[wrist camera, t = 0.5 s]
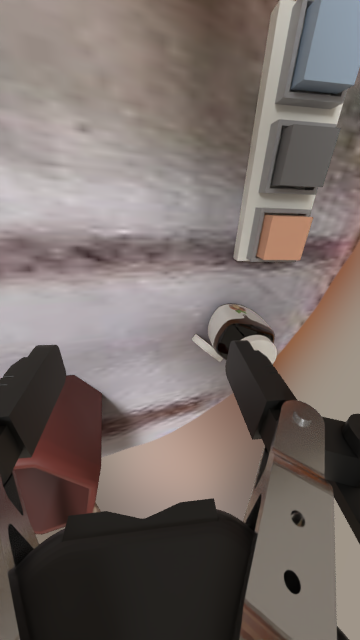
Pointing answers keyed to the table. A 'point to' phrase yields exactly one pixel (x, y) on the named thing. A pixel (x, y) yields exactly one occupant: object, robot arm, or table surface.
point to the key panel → (279, 129)
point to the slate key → (329, 47)
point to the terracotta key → (283, 237)
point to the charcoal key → (304, 155)
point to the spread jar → (237, 332)
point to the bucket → (64, 460)
